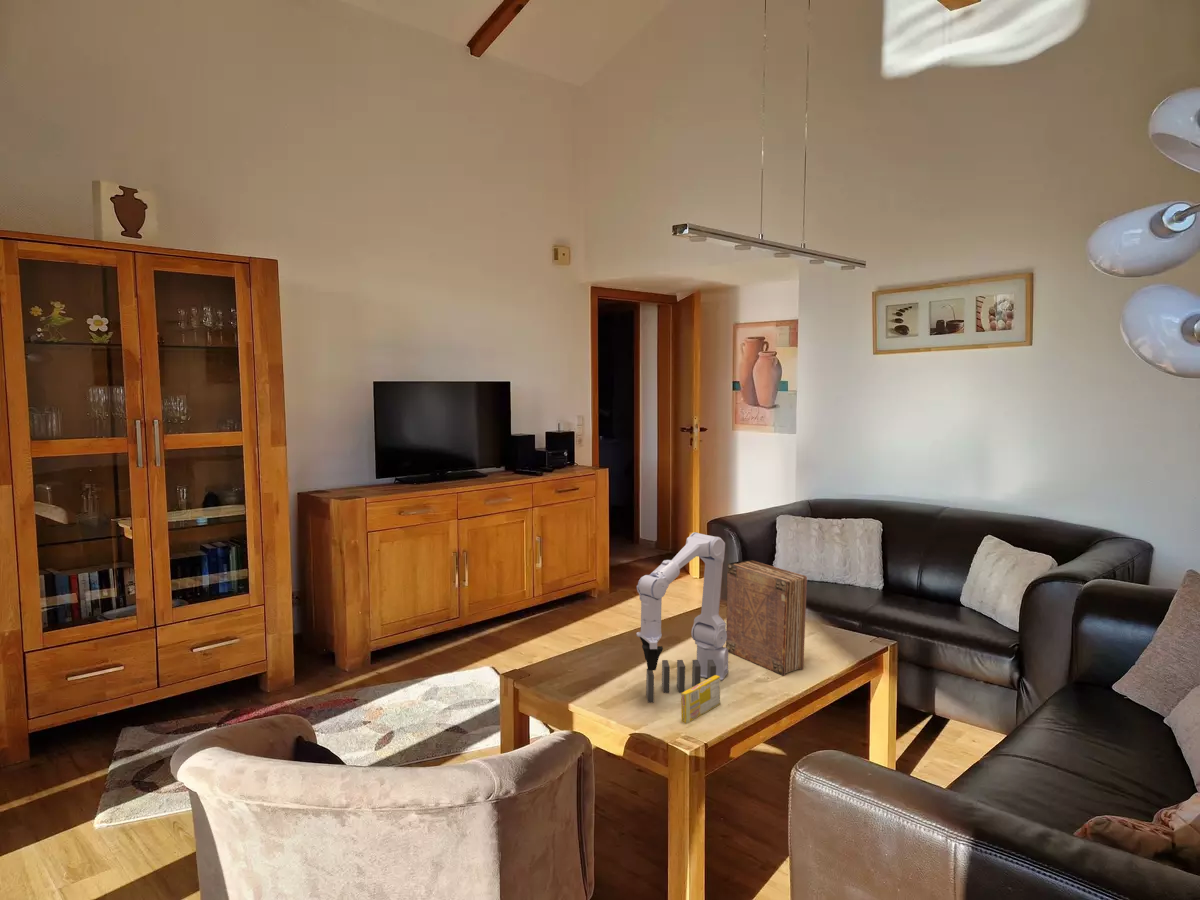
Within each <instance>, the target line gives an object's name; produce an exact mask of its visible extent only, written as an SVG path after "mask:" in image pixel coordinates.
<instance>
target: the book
mask: <svg viewBox="0 0 1200 900" xmlns="http://www.w3.org/2000/svg"><path fill="white" fill-rule="evenodd" d="M726 575H727V576H726V577H727V580H726V581H727V582H726V584H727V586H726V587H727V588H726V622H725V623H726V632H727V639H726V642H725V648H728V654H729V653H730V654H732V655H734V656H736V657H739V658H741V659H743V660H745V661H748V662H750V663H752V664H754V665H756V666H760V667H761V668H763V669H766V670H767V671H770V672H772V673H775V674H777V675H779V676H782V677H785V675H786V673H790V672H793V671H797V670H801V671H802V670H804V666H805V665H804V664H805V662H804V661H805V639H806V638H805V637H806V615H807V614H806V612H807V611H806V607H807V585H808V583H807V582H808V577H807V575H804V574H800V573H797V572H794V571H789V570H787V569H782V568H780V567H776V566H773V565H769V564H765V563H763V562H759V561H756V560H751V559H744V560H739V561H735V562H730V563H727V574H726Z"/></svg>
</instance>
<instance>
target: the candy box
mask: <svg viewBox="0 0 1200 900" xmlns="http://www.w3.org/2000/svg"><path fill="white" fill-rule="evenodd" d="M680 695H681V698H680V699H681V700H680V702H681V710H680V711H681V719H680V720H681V722H682V723H684V724H688V723H690V722H692V721H693V720H695V719H697V718H699V717H701V716H703V715H704V714H706V713H707V712H709V711H711V710H712V709H714V708H716V707H718V706H719V705H721V680H720V676H717V675H714V676H712V677H710V678H709V679H707V678H706V679H705V680H703V681H700V683H699V684H697V685H695V686H694V687H692V686H691V687H690V688H688V689H686V690H685V691H684V692H682V693H680Z"/></svg>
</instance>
